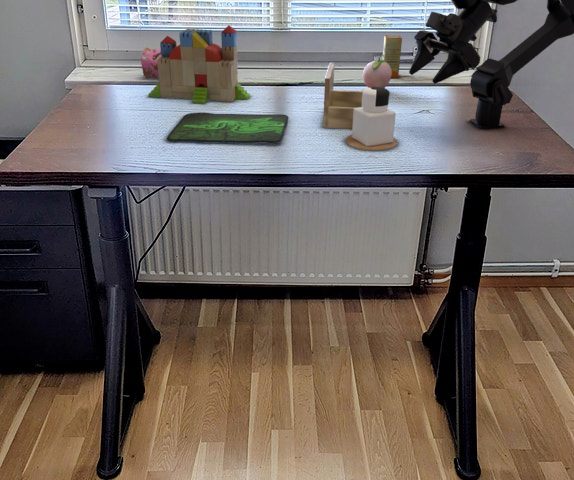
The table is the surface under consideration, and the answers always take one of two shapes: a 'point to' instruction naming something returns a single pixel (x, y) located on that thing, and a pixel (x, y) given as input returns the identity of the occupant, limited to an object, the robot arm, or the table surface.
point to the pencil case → (150, 62)
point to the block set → (199, 67)
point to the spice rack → (339, 103)
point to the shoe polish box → (392, 53)
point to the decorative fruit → (377, 73)
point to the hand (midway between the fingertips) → (421, 77)
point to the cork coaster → (358, 145)
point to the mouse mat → (230, 128)
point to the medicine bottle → (374, 118)
